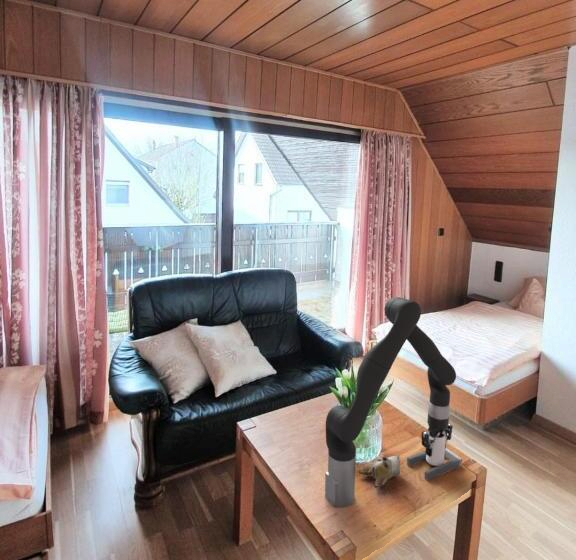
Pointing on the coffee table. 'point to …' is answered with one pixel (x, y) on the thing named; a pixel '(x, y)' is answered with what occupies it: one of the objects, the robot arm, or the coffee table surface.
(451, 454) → the frame
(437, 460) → the can
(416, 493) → the coffee table surface
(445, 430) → the robot arm
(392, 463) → the ceramic sculpture
